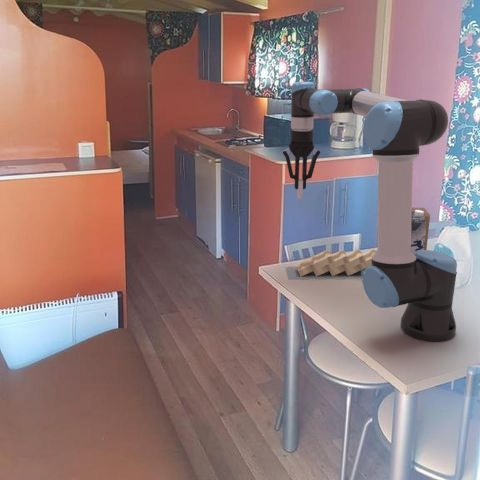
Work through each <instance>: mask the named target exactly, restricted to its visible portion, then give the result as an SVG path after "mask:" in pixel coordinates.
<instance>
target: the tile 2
mask: <svg viewBox="0 0 480 480" xmlns="http://www.w3.org/2000/svg"><path fill="white" fill-rule="evenodd" d="M331 256H332V258H333V260H334V262H332V263H330V264H328V265H326V266H323V267H321V268H319V269H317V270H314V273H315V275H316V276H319V275H321V274H323V273H325V272H327V271H330V270H332V269H334V268H336V267H339V266H341V265H343V264H345V263H348V262H350V261H349V259H348V257H347V253H346V251H345V250H344V249H341V250H338V251H337V252H335V253H332V254H331Z"/></svg>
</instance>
